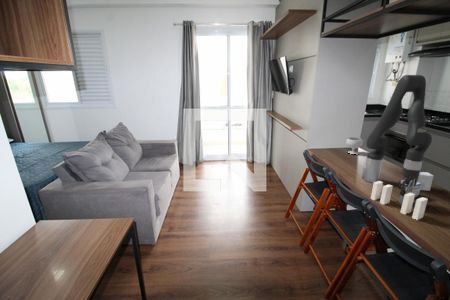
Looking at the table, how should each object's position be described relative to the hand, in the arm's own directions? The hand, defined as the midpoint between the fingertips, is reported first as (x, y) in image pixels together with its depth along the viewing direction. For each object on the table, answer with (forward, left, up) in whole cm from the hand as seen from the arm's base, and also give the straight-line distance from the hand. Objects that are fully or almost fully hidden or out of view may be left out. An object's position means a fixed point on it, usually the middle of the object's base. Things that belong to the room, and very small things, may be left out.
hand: (405, 194), depth 126 cm
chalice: (-76, +56, -6) cm, 95 cm away
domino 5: (+12, -10, -6) cm, 17 cm away
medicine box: (-3, +12, -6) cm, 14 cm away
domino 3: (0, 0, -6) cm, 6 cm away
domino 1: (-10, -10, -6) cm, 15 cm away
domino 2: (-5, -10, -6) cm, 12 cm away
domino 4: (+6, -10, -6) cm, 13 cm away
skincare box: (-7, +28, -6) cm, 29 cm away
